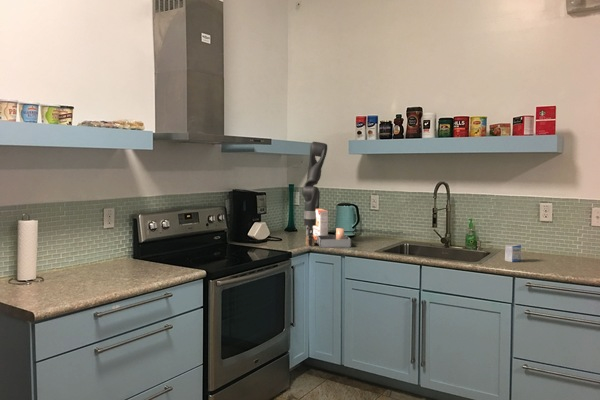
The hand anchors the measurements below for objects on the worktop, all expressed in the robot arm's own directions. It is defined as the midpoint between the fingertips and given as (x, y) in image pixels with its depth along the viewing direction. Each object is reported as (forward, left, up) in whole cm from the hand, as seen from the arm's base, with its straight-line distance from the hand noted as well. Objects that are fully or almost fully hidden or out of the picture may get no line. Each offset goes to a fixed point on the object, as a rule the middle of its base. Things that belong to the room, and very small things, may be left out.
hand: (309, 244), depth 319 cm
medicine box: (+55, +105, -1) cm, 118 cm away
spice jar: (+1, +19, 0) cm, 19 cm away
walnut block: (0, 0, 0) cm, 0 cm away
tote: (+1, +15, 0) cm, 15 cm away
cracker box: (-19, +9, -1) cm, 21 cm away
